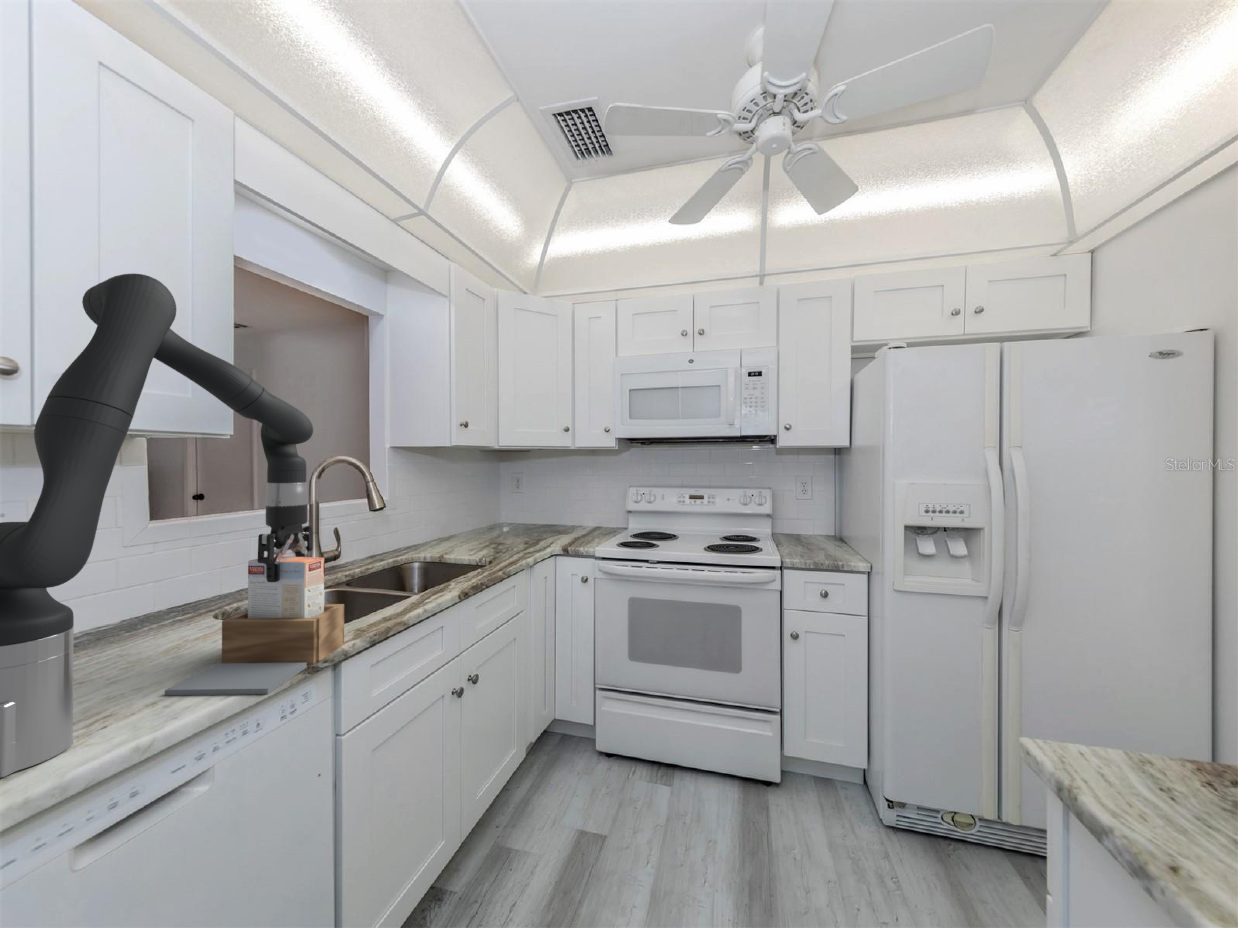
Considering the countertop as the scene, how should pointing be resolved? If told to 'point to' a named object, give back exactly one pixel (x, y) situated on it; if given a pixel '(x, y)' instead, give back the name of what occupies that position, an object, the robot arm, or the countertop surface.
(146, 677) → the countertop surface
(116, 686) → the countertop surface
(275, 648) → the crate
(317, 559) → the cracker box
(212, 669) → the pad
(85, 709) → the countertop surface
